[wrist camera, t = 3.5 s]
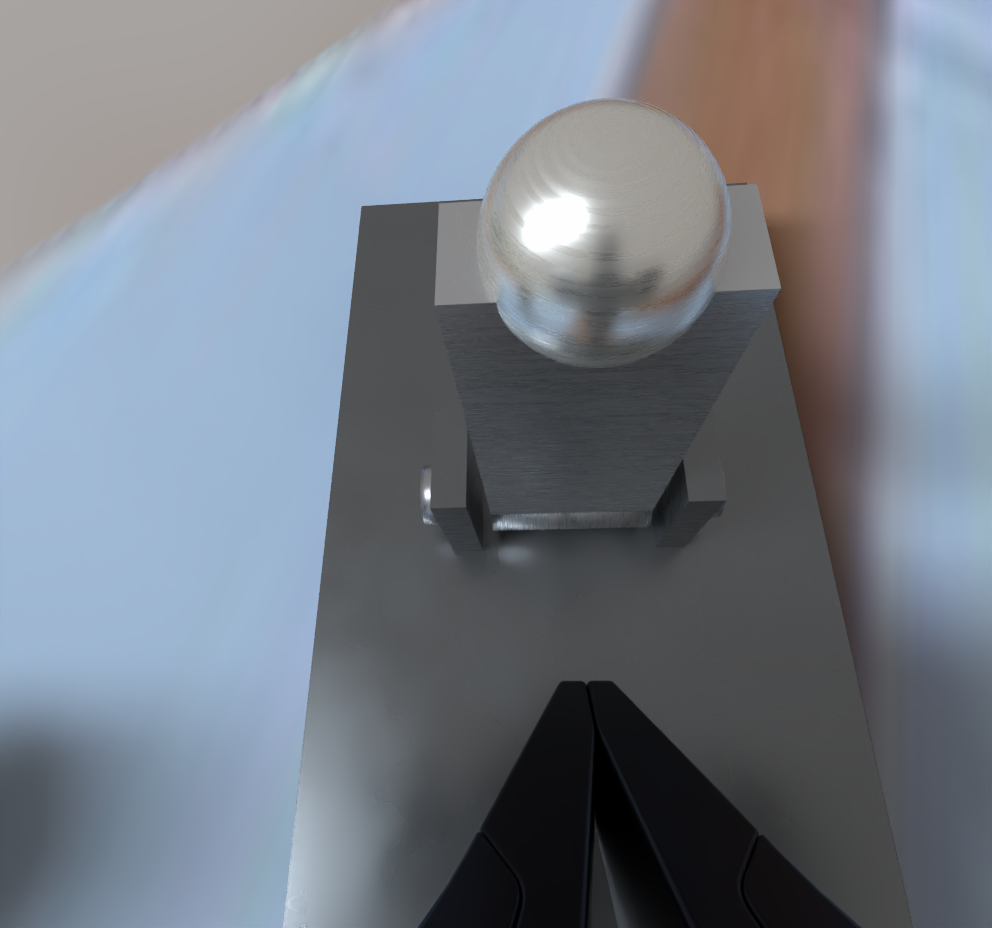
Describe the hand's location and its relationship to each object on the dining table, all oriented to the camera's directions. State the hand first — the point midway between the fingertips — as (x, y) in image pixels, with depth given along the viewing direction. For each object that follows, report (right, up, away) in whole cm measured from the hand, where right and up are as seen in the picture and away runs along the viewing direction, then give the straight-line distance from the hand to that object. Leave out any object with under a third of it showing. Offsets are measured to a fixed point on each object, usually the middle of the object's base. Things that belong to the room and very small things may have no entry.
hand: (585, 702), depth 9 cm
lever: (+1, +3, +6) cm, 7 cm away
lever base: (+1, +1, +10) cm, 11 cm away
